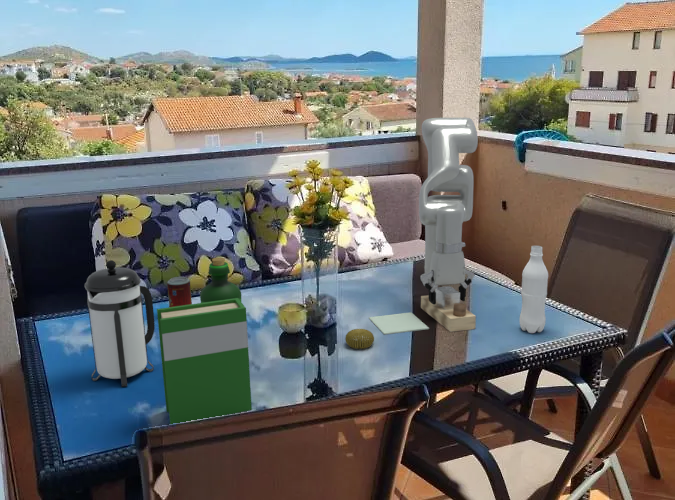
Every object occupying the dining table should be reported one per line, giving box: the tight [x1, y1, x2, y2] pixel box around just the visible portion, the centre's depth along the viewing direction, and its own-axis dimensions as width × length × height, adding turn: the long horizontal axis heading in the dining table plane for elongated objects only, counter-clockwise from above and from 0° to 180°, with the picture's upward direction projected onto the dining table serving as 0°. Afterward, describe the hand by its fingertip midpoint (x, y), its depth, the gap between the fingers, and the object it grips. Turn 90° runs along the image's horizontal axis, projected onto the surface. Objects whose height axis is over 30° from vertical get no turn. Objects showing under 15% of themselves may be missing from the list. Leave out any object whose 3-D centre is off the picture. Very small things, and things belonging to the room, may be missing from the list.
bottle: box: [199, 257, 242, 303], centre depth 160 cm, size 11×11×28 cm
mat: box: [368, 311, 430, 335], centre depth 189 cm, size 14×14×1 cm
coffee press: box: [84, 260, 156, 388], centre depth 155 cm, size 17×16×30 cm
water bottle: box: [519, 245, 549, 334], centre depth 178 cm, size 7×7×25 cm
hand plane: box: [420, 285, 477, 333], centre depth 192 cm, size 22×8×8 cm, turn 15°
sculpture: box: [344, 328, 375, 350], centre depth 173 cm, size 8×4×8 cm
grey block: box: [435, 285, 461, 310], centre depth 191 cm, size 7×5×5 cm
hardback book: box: [156, 298, 253, 424], centre depth 136 cm, size 18×7×24 cm, turn 112°
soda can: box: [166, 276, 193, 307], centre depth 197 cm, size 7×7×12 cm
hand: (447, 301), depth 191 cm, fingers open, 9 cm apart
